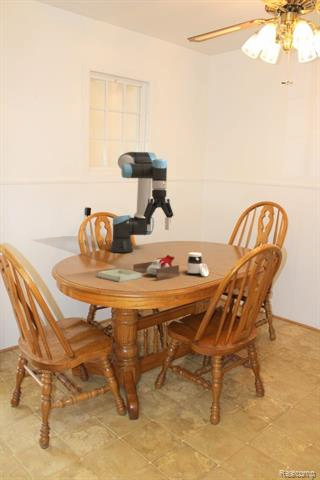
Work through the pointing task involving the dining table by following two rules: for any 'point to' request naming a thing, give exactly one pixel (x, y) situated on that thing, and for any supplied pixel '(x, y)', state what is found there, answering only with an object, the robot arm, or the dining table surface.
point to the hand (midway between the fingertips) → (158, 230)
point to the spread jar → (196, 265)
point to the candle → (160, 264)
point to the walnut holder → (158, 271)
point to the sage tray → (119, 275)
